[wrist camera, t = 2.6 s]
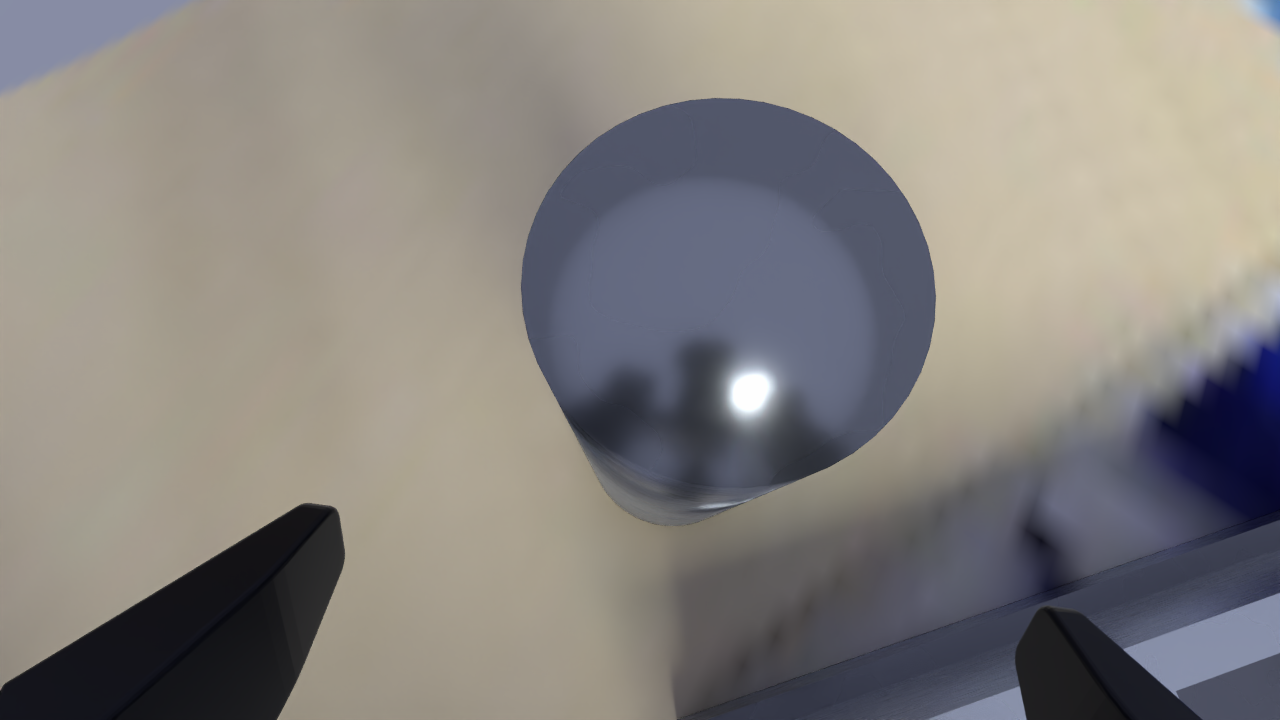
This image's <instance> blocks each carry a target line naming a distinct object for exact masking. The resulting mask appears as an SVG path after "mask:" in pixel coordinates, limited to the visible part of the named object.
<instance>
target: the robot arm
mask: <svg viewBox="0 0 1280 720" xmlns="http://www.w3.org/2000/svg"><path fill="white" fill-rule="evenodd" d="M344 560H345V549H344V542H343V536H342V529H341V523H340V516H339V513H338V511H337V509H336V508H334V507H332V506H327V505H320V504H312V503H304V504H301V505H299V506H297V507H295V508H294V509H292V510H291V511H289V512H287V513H286V514H284V515H282V516H281V517H279V518H277V519H276V520H274V521H272V522H271V523H269V524H267V525H266V526H264V527H262V528H261V529H259V530H258V531H256V532H254V533H253V534H251V535H249V536H248V537H246V538H244V539H243V540H241V541H239V542H238V543H236V544H234V545H233V546H231V547H229V548H228V549H226V550H225V551H223V552H221V553H220V554H218V555H216V556H215V557H213V558H211V559H210V560H208V561H206V562H205V563H203V564H201V565H200V566H198V567H196V568H195V569H193V570H192V571H190V572H188V573H187V574H185V575H183V576H182V577H180V578H178V579H177V580H175V581H173V582H172V583H170V584H168V585H167V586H165V587H163V588H162V589H160V590H159V591H157V592H155V593H154V594H152V595H150V596H149V597H147V598H145V599H144V600H142V601H140V602H139V603H137V604H135V605H134V606H132V607H130V608H129V609H127V610H126V611H124V612H122V613H121V614H119V615H117V616H116V617H114V618H112V619H111V620H109V621H107V622H106V623H104V624H102V625H101V626H99V627H98V628H96V629H94V630H93V631H91V632H89V633H88V634H86V635H84V636H83V637H81V638H79V639H78V640H76V641H74V642H73V643H71V644H69V645H68V646H66V647H65V648H63V649H61V650H60V651H58V652H56V653H55V654H53V655H51V656H50V657H48V658H46V659H45V660H43V661H41V662H40V663H38V664H36V665H35V666H33V667H32V668H30V669H28V670H27V671H25V672H23V673H22V674H20V675H18V676H17V677H15V678H13V679H12V680H10V681H8V682H7V683H5V684H4V685H3V687H2V689H1V691H0V720H277V718H278V716H279V714H280V713H281V711H282V709H283V707H284V705H285V703H286V701H287V699H288V697H289V695H290V693H291V691H292V689H293V687H294V685H295V683H296V681H297V679H298V677H299V675H300V672H301V670H302V668H303V665H304V663H305V661H306V658H307V656H308V653H309V651H310V648H311V646H312V643H313V641H314V638H315V636H316V634H317V631H318V629H319V626H320V624H321V621H322V619H323V616H324V614H325V611H326V609H327V606H328V604H329V601H330V599H331V596H332V594H333V591H334V589H335V586H336V584H337V582H338V579H339V577H340V574H341V572H342V569H343V565H344ZM1015 666H1016V672H1017V676H1018V681H1019V686H1020V691H1021V696H1022V700H1023V705H1024V710H1025V715H1026V719H1027V720H1203V719H1201V718H1200V717H1199V716H1198V715H1197V714H1196V713H1195V712H1194V711H1192V710H1191V709H1190V708H1189V707H1188V706H1187V705H1186V704H1184V703H1183V702H1182V701H1181V700H1180V699H1179V698H1178V697H1177V696H1175V695H1174V694H1173V693H1172V692H1171V691H1170V690H1169V689H1167V688H1166V687H1165V686H1164V685H1163V684H1162V683H1161V682H1160V681H1158V680H1157V679H1156V678H1155V677H1154V676H1153V675H1152V674H1150V673H1149V672H1148V671H1147V670H1146V669H1145V668H1144V667H1143V666H1141V665H1140V664H1139V663H1138V662H1137V661H1136V660H1135V659H1133V658H1132V657H1131V656H1130V655H1129V654H1128V653H1127V652H1125V651H1124V650H1123V649H1122V648H1121V647H1120V646H1119V645H1118V644H1116V643H1115V642H1114V641H1113V640H1112V639H1111V638H1110V637H1108V636H1107V635H1106V634H1105V633H1104V632H1103V631H1102V630H1101V629H1099V628H1098V627H1097V626H1096V625H1095V624H1094V623H1093V622H1091V621H1090V620H1089V619H1088V618H1087V617H1086V616H1085V615H1083V614H1082V613H1081V612H1079V611H1077V610H1075V609H1071V608H1064V607H1057V606H1050V605H1045V606H1042V607H1040V608H1039V609H1038V610H1037V611H1036V613H1035V614H1034V616H1033V618H1032V620H1031V621H1030V623H1029V625H1028V627H1027V629H1026V630H1025V632H1024V634H1023V636H1022V638H1021V639H1020V641H1019V643H1018V645H1017V648H1016V652H1015Z"/></svg>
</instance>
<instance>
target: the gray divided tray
mask: <svg viewBox="0 0 1280 720" xmlns="http://www.w3.org/2000/svg"><path fill="white" fill-rule="evenodd" d="M1045 605H1050V606H1057V607H1064V608H1071V609H1075V610H1077V611H1079V612H1081V613H1082V614H1083V615H1085V616H1086V617H1087V618H1088V619H1089V620H1090V621H1091V622H1093V623H1094V624H1095V625H1096V626H1097V627H1098V628H1099V629H1101V630H1102V631H1103V632H1104V633H1105V634H1106V635H1107V636H1108V637H1110V638H1111V639H1112V640H1113V641H1114V642H1115V643H1116V644H1118V645H1119V646H1120V647H1121V648H1122V649H1123V650H1124V651H1125V652H1127V653H1128V654H1129V655H1130V656H1131V657H1132V658H1133V659H1135V660H1136V661H1137V662H1138V663H1139V664H1140V665H1141V666H1143V667H1144V668H1145V669H1146V670H1147V671H1148V672H1149V673H1150V674H1152V675H1153V676H1154V677H1155V678H1156V679H1157V680H1158V681H1160V682H1161V683H1162V684H1163V685H1164V686H1165V687H1166V688H1167V689H1169V690H1170V691H1171V692H1172V693H1173V694H1174V695H1175V696H1177V697H1178V698H1179V699H1180V700H1181V701H1182V702H1183V703H1184V704H1186V705H1187V706H1188V707H1189V708H1190V709H1191V710H1192V711H1194V712H1195V713H1196V714H1197V715H1198V716H1199V717H1200V718H1201V719H1203V720H1280V510H1279V511H1276V512H1273V513H1270V514H1267V515H1265V516H1262V517H1259V518H1256V519H1253V520H1250V521H1247V522H1244V523H1242V524H1239V525H1236V526H1233V527H1230V528H1227V529H1224V530H1221V531H1219V532H1216V533H1213V534H1210V535H1207V536H1204V537H1201V538H1198V539H1196V540H1193V541H1190V542H1187V543H1184V544H1181V545H1178V546H1175V547H1172V548H1170V549H1167V550H1164V551H1161V552H1158V553H1155V554H1152V555H1149V556H1147V557H1144V558H1141V559H1138V560H1135V561H1132V562H1129V563H1126V564H1124V565H1121V566H1118V567H1115V568H1112V569H1109V570H1106V571H1103V572H1101V573H1098V574H1095V575H1092V576H1089V577H1086V578H1083V579H1080V580H1077V581H1075V582H1072V583H1069V584H1066V585H1063V586H1060V587H1057V588H1054V589H1052V590H1049V591H1046V592H1043V593H1040V594H1037V595H1034V596H1031V597H1029V598H1026V599H1023V600H1020V601H1017V602H1014V603H1011V604H1008V605H1006V606H1003V607H1000V608H997V609H994V610H991V611H988V612H985V613H983V614H980V615H977V616H974V617H971V618H968V619H965V620H962V621H959V622H957V623H954V624H951V625H948V626H945V627H942V628H939V629H936V630H934V631H931V632H928V633H925V634H922V635H919V636H916V637H913V638H911V639H908V640H905V641H902V642H899V643H896V644H893V645H890V646H888V647H885V648H882V649H879V650H876V651H873V652H870V653H867V654H864V655H862V656H859V657H856V658H853V659H850V660H847V661H844V662H841V663H839V664H836V665H833V666H830V667H827V668H824V669H821V670H818V671H816V672H813V673H810V674H807V675H804V676H801V677H798V678H795V679H793V680H790V681H787V682H784V683H781V684H778V685H775V686H772V687H770V688H767V689H764V690H761V691H758V692H755V693H752V694H749V695H746V696H744V697H741V698H738V699H735V700H732V701H729V702H726V703H723V704H721V705H718V706H715V707H712V708H709V709H706V710H703V711H700V712H698V713H695V714H692V715H689V716H686V717H683V718H680V719H677V720H1027V719H1026V715H1025V710H1024V705H1023V700H1022V696H1021V691H1020V686H1019V681H1018V676H1017V672H1016V666H1015V652H1016V648H1017V645H1018V643H1019V641H1020V639H1021V638H1022V636H1023V634H1024V632H1025V630H1026V629H1027V627H1028V625H1029V623H1030V621H1031V620H1032V618H1033V616H1034V614H1035V613H1036V611H1037V610H1038V609H1039V608H1040V607H1042V606H1045Z"/></svg>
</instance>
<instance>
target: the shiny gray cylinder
mask: <svg viewBox="0 0 1280 720" xmlns="http://www.w3.org/2000/svg"><path fill="white" fill-rule="evenodd" d="M521 292H522V306H523V315H524V320H525V324H526V329H527V334H528V338H529V341H530V344H531V347H532V349H533V352H534V355H535V358H536V360H537V363H538V365H539V367H540V369H541V371H542V373H543V375H544V376H545V378H546V380H547V382H548V384H549V386H550V388H551V390H552V392H553V394H554V396H555V397H556V399H557V401H558V403H559V405H560V407H561V409H562V411H563V413H564V415H565V417H566V418H567V420H568V422H569V424H570V426H571V428H572V430H573V432H574V434H575V436H576V438H577V440H578V441H579V443H580V445H581V447H582V449H583V451H584V453H585V455H586V457H587V459H588V461H589V462H590V464H591V466H592V468H593V470H594V472H595V474H596V476H597V478H598V480H599V481H600V483H601V485H602V487H603V488H604V490H605V491H606V493H607V494H608V495H609V496H610V498H611V499H612V500H613V501H614V502H615V503H616V504H617V505H618V506H620V507H621V508H622V509H623V510H625V511H626V512H628V513H629V514H631V515H633V516H634V517H637V518H639V519H641V520H643V521H646V522H650V523H653V524H658V525H664V526H681V525H688V524H692V523H696V522H699V521H702V520H704V519H707V518H709V517H712V516H714V515H716V514H719V513H721V512H724V511H726V510H728V509H731V508H733V507H735V506H738V505H740V504H743V503H745V502H747V501H750V500H752V499H754V498H757V497H759V496H762V495H764V494H766V493H769V492H771V491H773V490H776V489H778V488H781V487H783V486H785V485H788V484H790V483H792V482H795V481H797V480H800V479H802V478H804V477H807V476H809V475H811V474H814V473H816V472H819V471H821V470H823V469H826V468H828V467H830V466H832V465H833V464H835V463H837V462H839V461H840V460H842V459H844V458H846V457H847V456H849V455H851V454H853V453H854V452H855V451H856V450H858V449H859V448H860V447H862V446H863V445H864V444H865V443H867V442H868V441H869V440H871V439H872V438H873V437H874V436H875V435H876V434H877V433H878V432H879V431H880V430H881V429H882V428H883V427H884V426H885V425H886V424H887V423H888V422H889V421H890V420H891V419H892V418H893V417H894V415H895V414H896V412H897V411H898V410H899V408H900V407H901V405H902V404H903V403H904V401H905V400H906V399H907V397H908V396H909V394H910V392H911V390H912V388H913V386H914V384H915V382H916V381H917V379H918V377H919V375H920V373H921V370H922V368H923V365H924V362H925V359H926V356H927V353H928V350H929V347H930V342H931V337H932V332H933V327H934V322H935V302H936V293H935V282H934V271H933V266H932V262H931V258H930V253H929V249H928V245H927V243H926V240H925V237H924V235H923V232H922V229H921V226H920V224H919V222H918V220H917V218H916V216H915V214H914V212H913V210H912V208H911V206H910V205H909V203H908V201H907V199H906V198H905V196H904V195H903V193H902V192H901V191H900V189H899V188H898V186H897V185H896V184H895V182H894V181H893V179H892V178H891V177H890V176H889V175H888V174H887V173H886V172H885V170H884V169H883V168H882V167H881V166H880V165H879V164H878V163H877V162H876V161H875V160H874V159H873V158H872V157H871V156H870V155H869V154H867V153H866V152H865V151H864V150H863V149H862V148H860V147H859V146H858V145H857V144H856V143H854V142H853V141H851V140H850V139H848V138H847V137H845V136H844V135H843V134H841V133H840V132H838V131H837V130H835V129H833V128H831V127H829V126H827V125H826V124H824V123H822V122H820V121H818V120H816V119H814V118H812V117H809V116H807V115H804V114H801V113H799V112H796V111H794V110H791V109H788V108H784V107H780V106H776V105H773V104H769V103H765V102H758V101H751V100H744V99H722V98H712V99H701V100H690V101H685V102H680V103H675V104H670V105H666V106H662V107H659V108H656V109H653V110H650V111H647V112H644V113H642V114H639V115H637V116H635V117H633V118H631V119H629V120H627V121H625V122H623V123H620V124H618V125H617V126H615V127H614V128H612V129H611V130H609V131H607V132H606V133H604V134H603V135H601V136H600V137H598V138H597V139H596V140H594V141H593V142H592V143H591V144H590V145H588V146H587V147H586V148H585V149H584V150H582V151H581V152H580V153H579V154H578V155H577V156H576V157H575V158H574V159H573V160H572V161H571V162H570V164H569V165H568V166H567V167H566V168H565V169H564V170H563V171H562V172H561V174H560V175H559V177H558V178H557V179H556V181H555V182H554V184H553V185H552V187H551V188H550V189H549V191H548V192H547V194H546V196H545V198H544V200H543V202H542V204H541V206H540V208H539V210H538V212H537V213H536V216H535V219H534V222H533V224H532V227H531V230H530V233H529V236H528V239H527V244H526V249H525V254H524V258H523V267H522V281H521Z"/></svg>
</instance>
